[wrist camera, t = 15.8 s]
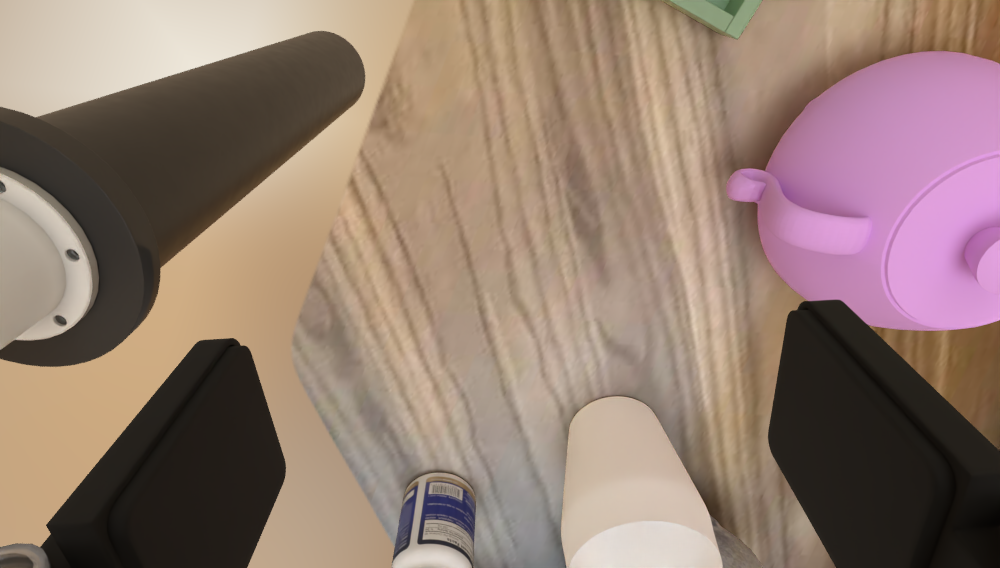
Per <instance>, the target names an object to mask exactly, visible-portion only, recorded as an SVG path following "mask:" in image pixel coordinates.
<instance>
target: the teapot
mask: <svg viewBox="0 0 1000 568" xmlns="http://www.w3.org/2000/svg"><path fill="white" fill-rule="evenodd" d="M726 190H727V195H728V197H729V198H730V199H732V200H736V201H742V202H755V203H757V204H758V229H759V236H760V240H761V243H762V247H763V250H764V252H765V254H766V256H767V259H768V261H769V262H770V264H771V265H772V267H773V268H774V270H775V271H776V273H777V274H778V275H779V276H780V277H781V278H782V279H783V280H784V281H785V282H786V283H787V284H788V285H789V286H790V287H791V288H792V289H793V290H794V291H796V292H797V293H798V294H800V295H801V296H802V297H804V298H805V299H807V300H808V301H819V300H835V299H836V300H841V301H843V302H844V303H845V304H846V305H847V306H848V307H849V308H850V309H851V310H852V311H853V312H854V313H856V314H857V315H858V316H859V317H860V318H861V319H862V320H863V321H864V322H865V323H866V324H867V325H871V326H875V327H883V328H891V329H901V330H926V331H939V330H955V329H963V328H972V327H977V326H981V325H986V324H989V323H992V322H995V321H999V320H1000V64H998V63H996V62H994V61H991V60H987V59H984V58H980V57H976V56H973V55H969V54H965V53H958V52H949V51H924V52H917V53H911V54H904V55H900V56H896V57H893V58H890V59H886V60H883V61H880V62H878V63H875V64H873V65H870V66H868V67H866V68H863V69H861V70H858V71H856V72H855V73H853V74H851V75H849V76H847V77H846V78H844V79H842V80H840V81H839V82H837V83H836V84H834V85H833V86H832V87H830V88H829V89H827V90H826V91H824V92H823V93H822V94H821V95H820V96H818V97H816V98H815V99H813V100H812V101H810V102H809V103H808V104H807V105H806V107H805V108H804V110H803V111H802V112H801V114H800V115H799V116H798V117H797V118H796V119H795V120H794V121H793V123H792V124H791V125H790V127H789V128H788V129H787V131H786V132H785V133H784V135H783V136H782V138H781V139H780V141H779V143H778V144H777V146H776V148H775V149H774V151H773V154H772V156H771V158H770V160H769V162H768V165H767V167H766V170H765V171H763V170H759V169H751V168H746V169H739V170H737V171H735V172H734V173H733V174H732V175H731V177H730V178H729V180H728V182H727V186H726Z"/></svg>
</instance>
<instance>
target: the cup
mask: <svg viewBox="0 0 1000 568" xmlns="http://www.w3.org/2000/svg"><path fill="white" fill-rule="evenodd" d="M561 540H562V545H563V550H564V555H565V562H566V568H723V565H722V559H721V555H720V552H719V549H718V545H717V542H716V538H715V535H714V531H713V527H712V522H711V518H710V515H709V512H708V510H707V508H706V506H705V503H704V502H703V500H702V498H701V496H700V494H699V492H698V491H697V489H696V487H695V485H694V483H693V482H692V480H691V478H690V476H689V474H688V473H687V471H686V469H685V467H684V465H683V464H682V462H681V460H680V458H679V456H678V455H677V453H676V451H675V449H674V448H673V446H672V444H671V442H670V440H669V439H668V437H667V435H666V433H665V431H664V430H663V428H662V426H661V424H660V422H659V421H658V419H657V417H656V415H655V414H654V412H653V411H652V410H651V409H650V408H649V407H648V406H647V405H645V404H644V403H642V402H640V401H638V400H635V399H632V398H628V397H619V396H615V397H606V398H602V399H598V400H596V401H593V402H591V403H589V404H587V405H586V406H584V407H583V408H582V409H581V410H580V411H579V412H578V413H577V414H576V415H575V416H574V418H573V420H572V422H571V424H570V427H569V435H568V447H567V459H566V471H565V483H564V495H563V508H562V521H561Z"/></svg>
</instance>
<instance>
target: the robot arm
mask: <svg viewBox="0 0 1000 568" xmlns="http://www.w3.org/2000/svg"><path fill="white" fill-rule="evenodd" d="M98 285H99V273H98V266H97V260H96V258H95V255H94V252H93V249H92V246H91V244H90V242H89V240H88V239H87V237H86V235H85V233H84V231H83V230H82V228H81V227H80V225H79V224H78V223H77V222H76V220H75V219H74V218H73V216H72V215H71V214H70V213H69V211H68V210H67V209H65V208H64V207H63V206H62V205H61V204H60V203H59V202H58V201H57V200H56V199H55V198H54V197H53V196H52V195H50V194H49V193H48V192H46V191H45V190H43V189H42V188H41V187H39V186H38V185H37V184H35V183H34V182H32V181H30V180H28V179H26V178H24V177H23V176H21V175H19V174H17V173H15V172H13V171H10V170H7V169H5V168H2V167H0V350H1V349H2V348H4V347H5V346H6V345H8V344H9V343H10V342H12V341H13V340H39V339H47V338H50V337H53V336H56V335H59V334H62V333H63V332H65V331H66V330H68V329H70V328H71V327H73V326H74V325H75V324H76V323H78V322H79V321H80V320H81V319H82V318H83V317H85V316H86V314H87V313H88V312H89V310H90V309H91V307H92V306H93V304H94V301H95V299H96V296H97V293H98ZM768 441H769V446H770V450H771V453H772V455H773V457H774V458H775V460H776V462H777V464H778V466H779V467H780V469H781V471H782V473H783V474H784V476H785V478H786V480H787V481H788V483H789V485H790V487H791V489H792V490H793V492H794V494H795V496H796V497H797V499H798V501H799V503H800V504H801V506H802V508H803V510H804V512H805V513H806V515H807V517H808V519H809V520H810V522H811V524H812V526H813V527H814V529H815V531H816V533H817V535H818V536H819V538H820V540H821V542H822V543H823V545H824V547H825V549H826V550H827V552H828V554H829V556H830V558H831V559H832V561H833V563H834V565H835V566H836V568H1000V451H999V450H998V449H997V448H996V447H995V446H994V445H992V444H991V443H990V442H989V441H988V440H987V439H986V438H985V437H984V436H983V435H982V434H981V433H980V432H979V431H978V430H977V429H976V428H975V427H974V426H973V425H972V424H971V423H969V422H968V421H967V420H966V419H965V418H964V417H963V416H962V415H961V414H960V413H959V412H958V411H957V410H956V409H955V408H954V407H953V406H952V405H951V404H950V403H949V402H948V401H946V400H945V399H944V398H943V397H942V396H941V395H940V394H939V393H938V392H937V391H936V390H935V389H934V388H933V387H932V386H931V385H930V384H929V383H928V382H927V381H926V380H925V379H923V378H922V377H921V376H920V375H919V374H918V373H917V372H916V371H915V370H914V369H913V368H912V367H911V366H910V365H909V364H908V363H907V362H906V361H905V360H904V359H903V358H902V357H900V356H899V355H898V354H897V353H896V352H895V351H894V350H893V349H892V348H891V347H890V346H889V345H888V344H887V343H886V342H885V341H884V340H883V339H882V338H881V337H880V336H879V335H877V334H876V333H875V332H874V331H873V330H872V329H871V328H870V327H869V326H868V325H867V324H866V323H865V322H864V321H863V320H862V319H861V318H860V317H859V316H858V315H857V314H856V313H854V312H853V311H852V310H851V309H850V308H849V307H848V306H847V305H846V304H845V303H844V302H843V301H841V300H836V299H835V300H819V301H804V302H802V303H801V304H800V305H799V307H798V309H797V310H795V311H791V312H790V313H789V315H788V318H787V323H786V329H785V335H784V341H783V347H782V353H781V359H780V365H779V371H778V377H777V383H776V389H775V395H774V401H773V407H772V413H771V419H770V426H769V432H768ZM285 472H286V465H285V459H284V456H283V453H282V450H281V447H280V443H279V440H278V437H277V434H276V431H275V427H274V424H273V421H272V418H271V415H270V412H269V409H268V406H267V402H266V399H265V396H264V393H263V389H262V386H261V383H260V380H259V377H258V374H257V370H256V367H255V364H254V361H253V358H252V355H251V352H250V350H249V349H248V347H246V346H240V343H239V342H238V341H237V340H236V339H234V338H230V339H214V340H202V341H199V342H197V343H196V344H195V345H194V346H193V348H192V349H191V350H190V351H189V353H188V354H187V355H186V356H185V357H184V359H183V360H182V361H181V362H180V363H179V365H178V366H177V367H176V368H175V370H174V371H173V372H172V373H171V374H170V376H169V377H168V378H167V379H166V380H165V382H164V383H163V384H162V385H161V386H160V388H159V389H158V390H157V391H156V393H155V394H154V395H153V396H152V397H151V399H150V400H149V401H148V402H147V404H146V405H145V406H144V407H143V408H142V410H141V411H140V412H139V413H138V414H137V416H136V417H135V418H134V419H133V420H132V422H131V423H130V424H129V426H128V427H127V428H126V429H125V430H124V431H123V433H122V434H121V435H120V437H119V438H118V439H117V440H116V441H115V442H114V444H113V445H112V446H111V447H110V448H109V450H108V451H107V452H106V453H105V455H104V456H103V457H102V458H101V459H100V460H99V462H98V463H97V464H96V465H95V467H94V468H93V469H92V470H91V471H90V473H89V474H88V475H87V476H86V478H85V479H84V480H83V481H82V483H81V484H80V485H79V486H78V487H77V488H76V490H75V491H74V492H73V493H72V494H71V496H70V497H69V499H67V501H66V502H65V503H64V504H63V505H62V507H61V508H60V509H59V510H58V511H57V513H56V514H55V515H54V517H53V518H52V519H51V520H50V521H49V522H48V524H47V525H46V526H47V528H48V529H49V531H50V533H51V535H50V536H49V537H48V538H47V540H46V541H45V542H44V543H43V545H42V546H41V547H38V546H36V545H33V544H12V545H7V546H3V547H0V568H247V567H248V564H249V562H250V559H251V557H252V555H253V553H254V550H255V548H256V546H257V543H258V541H259V539H260V536H261V534H262V531H263V529H264V527H265V524H266V522H267V520H268V517H269V515H270V513H271V510H272V508H273V506H274V503H275V501H276V499H277V496H278V494H279V492H280V489H281V487H282V485H283V482H284V479H285Z"/></svg>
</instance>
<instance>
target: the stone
mask: <svg viewBox="0 0 1000 568" xmlns="http://www.w3.org/2000/svg"><path fill="white" fill-rule="evenodd" d="M710 518H711V522H712V527H713V531H714V535H715V538H716V542H717V545H718V549H719V552H720V555H721V559H722V565H723V568H763V566H762V565H761V563H760V562H759V560H758V559H757V557H756V556H755V555H754V553H753V552H752V551H751V550H750V549H749V548H748V547H747V546H746V545H745V544H744V543H743V542H742V541H741V540H740V539H738V538H737V537H736V536H735V535H733V534H732V533H731V532H729V531H727V530H726V529H724V528H722V527H721V526H720V525H719V523H718V521H717V520H716V519H714V518H713V517H712V516H711V515H710Z"/></svg>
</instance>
